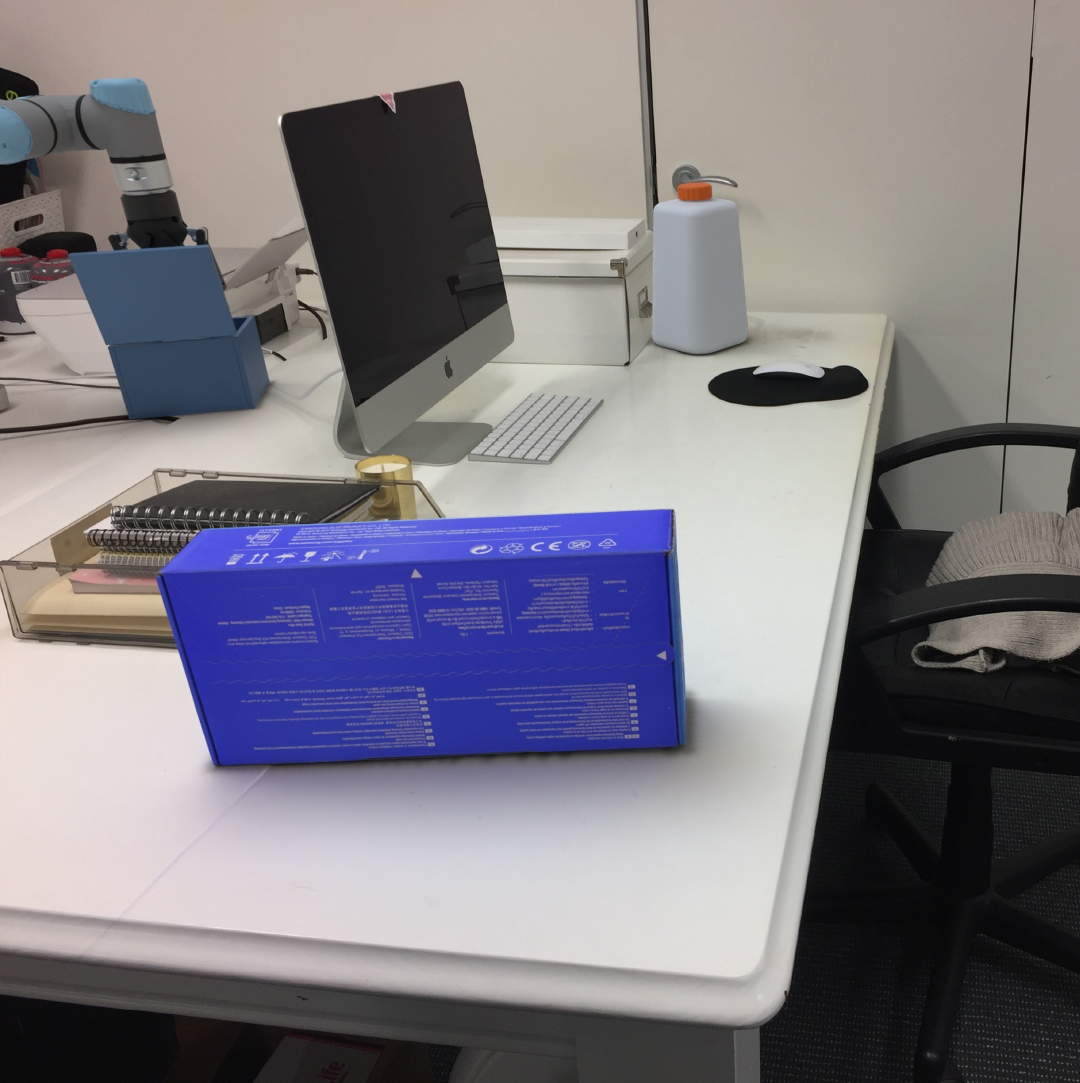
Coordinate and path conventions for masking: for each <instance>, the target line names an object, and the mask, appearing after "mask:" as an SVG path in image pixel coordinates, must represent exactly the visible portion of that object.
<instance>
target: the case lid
mask: <svg viewBox="0 0 1080 1083" xmlns="http://www.w3.org/2000/svg"><path fill="white" fill-rule="evenodd" d="M209 245H210V244H209ZM209 245H197V244H195V245H185V246H178V247H162V248H146V249H141V248H132V249H131V248H130V249H128V250H100V251H99V250H98V251H86V252H84V251H83V252H72V253H71V252H70V253H69V254H68V258H69V261H70V263H71V266H72V268H73V270H74V272H75V275H76V277H77V280H78V283H79V285H80V287H81V289H82V292H83V294H84V297H85V299H86V301H87V303H88V306H89V308H90V311H91V313H92V315H93V318H94V320H95V323H96V325H97V328H98V330H99V333H100V335H101V337H102V339H103V342H104V344H105V346H110V345H116V344H128V343H141V342H154V341H167V340H180V339H193V338H206V337H219V336H232V335H236V334H237V331H236V328H235V325H234V322H233V319H232V317H233V315H232V312H231V309H230V306H229V303H228V300H227V297H226V294H225V291H223V288H222V284H221V281H220V278H219V275H218V272H217V269H216V266H215V263H214V259H213V256H212V253H211V250H210V247H211V246H210V247H209Z"/></svg>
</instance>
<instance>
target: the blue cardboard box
mask: <svg viewBox="0 0 1080 1083" xmlns="http://www.w3.org/2000/svg"><path fill="white" fill-rule="evenodd" d="M677 541H678V538H677V515H676V511H675V509H674V508H666V507H665V508H645V509H644V508H643V509H640V508H639V509H619V510H617V509H616V510H596V511H595V510H594V511H576V512H575V511H574V512H573V511H572V512H551V513H550V512H548V513H547V512H546V513H530V514H527V513H525V514H505V515H504V514H502V515H500V514H499V515H481V516H480V515H479V516H477V515H476V516H461V517H438V518H416V519H415V518H414V519H396V520H395V519H394V520H393V519H391V520H375V521H374V520H371V521H370V520H369V521H347V522H327V523H326V522H325V523H307V524H306V523H303V524H282V525H260V526H259V525H258V526H236V527H235V526H234V527H213V528H201V529H200V532H199V533H197V534H196V536H194V537H193V538H192V539H191V540H190V541H189V542H188V543H187V544H186V545H184V547H183V548H182V549H181V550H179V552H178V553H177V554H175V555H174V557H172V559H171V560H170V561H168V562H167V563H166V564H165V565H164V566H163V567H162V568H160V569H158V571H157V572H156V573H155V574H154V575H155V580H156V583H157V587H158V590H159V594H160V597H161V600H162V603H163V606H164V610H165V613H166V616H167V619H168V622H169V626H170V629H171V633H172V635H173V640H174V642H175V645H176V649H177V651H178V654H179V655H178V656H179V659H180V661H181V664H182V667H183V672H184V675H185V678H186V681H187V684H188V689H189V691H190V694H191V697H192V701H193V705H194V709H195V712H196V715H197V718H198V721H199V724H200V727H201V731H202V734H203V737H204V740H205V744H206V747H207V750H208V754H209V755H210V759H211V761H212V765H213V766H215V767H233V766H250V765H251V766H253V765H280V764H281V765H282V764H283V765H285V764H304V763H305V764H308V763H309V764H310V763H331V762H332V763H333V762H350V761H364V760H365V761H366V760H369V761H371V760H372V761H373V760H375V761H376V760H378V761H379V760H399V759H400V760H401V759H425V758H443V757H444V758H445V757H461V756H462V757H463V756H483V755H484V756H485V755H502V754H503V755H505V754H518V753H519V754H520V753H543V752H544V753H545V752H570V751H571V752H573V751H574V752H575V751H596V750H599V751H600V750H601V751H602V750H619V749H620V750H621V749H623V750H624V749H643V748H666V747H683V746H686V743H687V741H686V740H687V738H686V737H687V699H686V696H687V695H686V675H685V674H686V673H685V672H686V671H685V670H686V669H685V657H684V656H685V653H684V637H683V636H684V635H683V622H682V606H681V590H680V574H679V573H680V572H679V561H678V560H679V558H678V542H677Z"/></svg>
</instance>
